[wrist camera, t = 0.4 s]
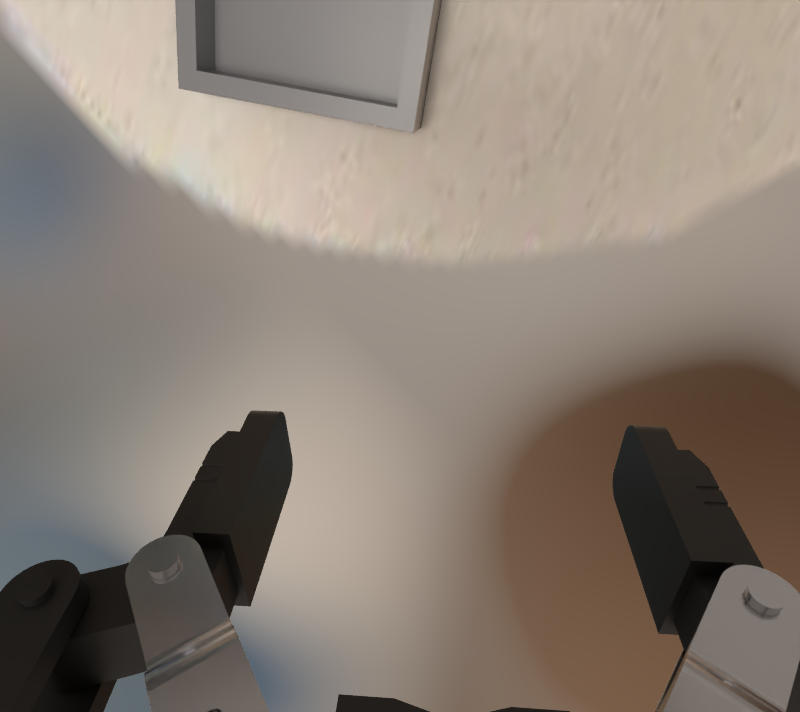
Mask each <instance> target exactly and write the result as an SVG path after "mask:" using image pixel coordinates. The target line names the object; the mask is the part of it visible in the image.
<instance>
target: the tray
mask: <svg viewBox="0 0 800 712" xmlns="http://www.w3.org/2000/svg"><path fill="white" fill-rule="evenodd" d="M175 3H176V29H177V55H178V81H179V89H184V90H190V91H195V92H200V93H205V94H211V95H216V96H221V97H226V98H232V99H237V100H242V101H247V102H253V103H258V104H263V105H268V106H274V107H279V108H284V109H289V110H295V111H300V112H305V113H310V114H316V115H321V116H326V117H332V118H337V119H342V120H347V121H353V122H358V123H363V124H368V125H374V126H379V127H384V128H389V129H395V130H400V131H405V132H410V133H414V132H415V131H417V130H418V129H420V128H421V123H422V117H423V111H424V105H425V99H426V92H427V86H428V80H429V74H430V68H431V62H432V56H433V49H434V43H435V37H436V31H437V25H438V19H439V13H440V6H441V0H175Z"/></svg>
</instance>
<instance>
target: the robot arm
mask: <svg viewBox="0 0 800 712" xmlns="http://www.w3.org/2000/svg"><path fill="white" fill-rule="evenodd" d="M202 464H203V465H202V467H200V469H199V471H198V473H197V474H196V476H195V481H193V482H192V484H191V486H190V488H189V490H188V491H187V493H186V495H185V497H184V499H183V501H182V503H181V505H180V507H179V509H178V511H177V513H176V514H175V516H174V518H173V520H172V522H171V524H170V526H169V528H168V530H167V532H166V533H165V535H164V536H163V537H161V538H158V539H156V540H154V541H152V542H150V543H148V544H147V545H145V546H144V547H143V548H141V549H140V550H139V551H138V552H137V553H136V554H135V555H134V557H133V558H132V559H131V561H130V562H129V563H127V564H123V565H120V566H116V567H111V568H107V569H103V570H98V571H94V572H89V573H85V574H80V573H79V571H78V569H77V567H76V566H75V565H74V564H72V563H70V562H69V561H65V560H50V561H45V562H42V563H39V564H36V565H34V566H31V567H29V568H28V569H26V570H24V571H22V572H21V573H20V574H18V575H17V576H15V577H14V578H13V579H12V580H11V581H10V582H9V583H8V584H7V585H6V586H5V587H4V588H3V589H2V591H1V592H0V712H103V711H104V709H105V707H106V704H107V702H108V700H109V697H110V695H111V693H112V690H113V688H114V685H115V683H116V681H117V679H119V678H123V677H127V676H130V675H134V674H138V673H141V672H145V671H147V672H146V673H145V675H144V677H145V684H146V689H147V694H148V697H149V701H150V706H151V710H152V712H269V711H268V709H267V706H266V704H265V701H264V699H263V696H262V694H261V691H260V689H259V686H258V684H257V682H256V679H255V677H254V674H253V672H252V669H251V667H250V665H249V662H248V659H247V657H246V655H245V652H244V650H243V647H242V645H241V642H240V640H239V637H238V635H237V633H236V630H235V628H234V626H233V625H232V623H231V621H230V619H229V618H230V615H231V612H232V609H233V607H234V605H238V606H251V603H252V600H253V597H254V594H255V591H256V588H257V584H258V581H259V578H260V575H261V572H262V569H263V566H264V563H265V560H266V557H267V554H268V550H269V547H270V544H271V541H272V538H273V535H274V532H275V529H276V526H277V523H278V520H279V516H280V513H281V510H282V507H283V504H284V501H285V498H286V495H287V491H288V488H289V486H290V482H291V477H292V466H293V464H292V454H291V448H290V443H289V437H288V431H287V425H286V420H285V416H284V413H283V412H277V411H251V412H250V413H249V414H248V416H247V418H246V420H245V422H244V424H243V427H242V428H241V430H240V432H236V431H227V432H226V433H225V434H224V435H223V436H222V437H221V438H220V439H219V440H217V441H216V442H215V443H214V444H213V445H212V446H211V448H210V450H209V451H208V453H207V455H206V457H205V459H204V461H203V463H202ZM613 494H614V499H615V502H616V505H617V509H618V512H619V515H620V518H621V521H622V524H623V527H624V530H625V533H626V536H627V539H628V542H629V545H630V548H631V551H632V554H633V557H634V560H635V563H636V566H637V569H638V573H639V576H640V578H641V581H642V585H643V588H644V591H645V594H646V597H647V600H648V603H649V606H650V609H651V612H652V615H653V618H654V621H655V624H656V627H657V630H658V633H659V634H674V635H675V634H676V635H679V637H680V640H681V643H682V646H683V648H684V649H683V651H682V653H681V655H680V657H679V659H678V661H677V663H676V666H675V668H674V670H673V672H672V675H671V677H670V679H669V681H668V683H667V686H666V688H665V690H664V692H663V695H662V697H661V699H660V701H659V703H658V706H657V708H656V710H655V712H800V594H799V593H798V592H797V591H796V590H795V589H794V587H792V586H791V585H790V584H789V583H788V582H787V581H785V580H784V579H782V578H781V577H779V576H778V575H776V574H774V573H772V572H770V571H768V570H766V569H764V568H763V566H762V564H761V562H760V561H759V559H758V557H757V555H756V553H755V552H754V550H753V548H752V546H751V544H750V542H749V541H748V539H747V537H746V535H745V533H744V532H743V530H742V528H741V526H740V524H739V522H738V521H737V519H736V517H735V515H734V513H733V511H732V510H731V508H730V507H728V505H727V504H728V502H727V500H726V499H725V497H724V495H723V493H722V491H719V486H718V484H717V482H716V480H715V479H714V477H713V475H712V473H711V471H710V469H709V468H708V467H707V466H706V465H705V464H704V463H703V462H702V461H701V460H699V458H697V457H696V456H695V455H694V454H693V453H692V452H691V451H689V450H678V449H677V448H676V446H675V444H674V442H673V440H672V438H671V436H670V434H669V432H668V430H667V429H666V428H665V427H662V426H636V425H630V426H628V427H627V429H626V431H625V434H624V438H623V441H622V445H621V448H620V452H619V455H618V459H617V462H616V466H615V469H614V473H613ZM336 712H429V711H426V710H424V709H421V708H418V707H415V706H413V705H410V704H408V703H405V702H402V701H399V700H397V699H393V698H380V697H379V698H378V697H367V696H353V695H339V697H338V702H337V708H336ZM492 712H569V711H558V710H545V709H544V710H543V709H531V708H516V707H510V708H506V709H501V710H496V711H492Z"/></svg>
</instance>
